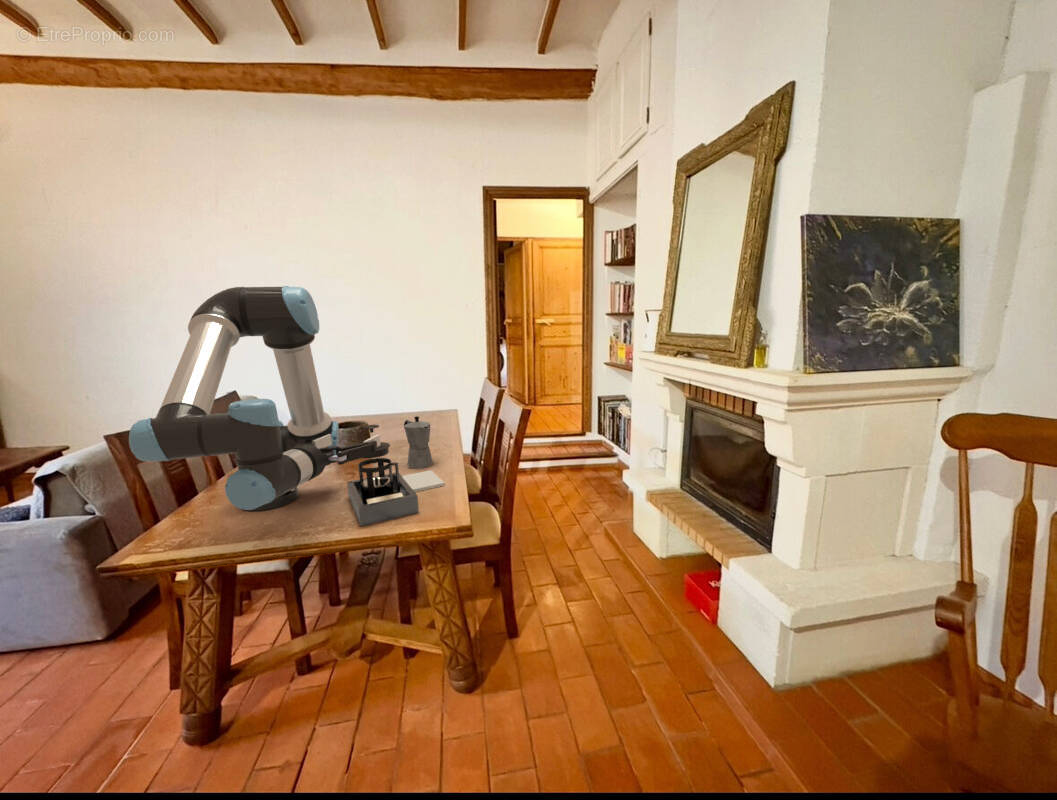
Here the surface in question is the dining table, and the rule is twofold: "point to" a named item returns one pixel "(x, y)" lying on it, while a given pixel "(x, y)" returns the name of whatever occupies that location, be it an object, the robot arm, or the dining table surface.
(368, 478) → the french press
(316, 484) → the dining table surface
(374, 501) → the offcut stack
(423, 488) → the mat
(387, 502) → the open box
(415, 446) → the coffeepot
